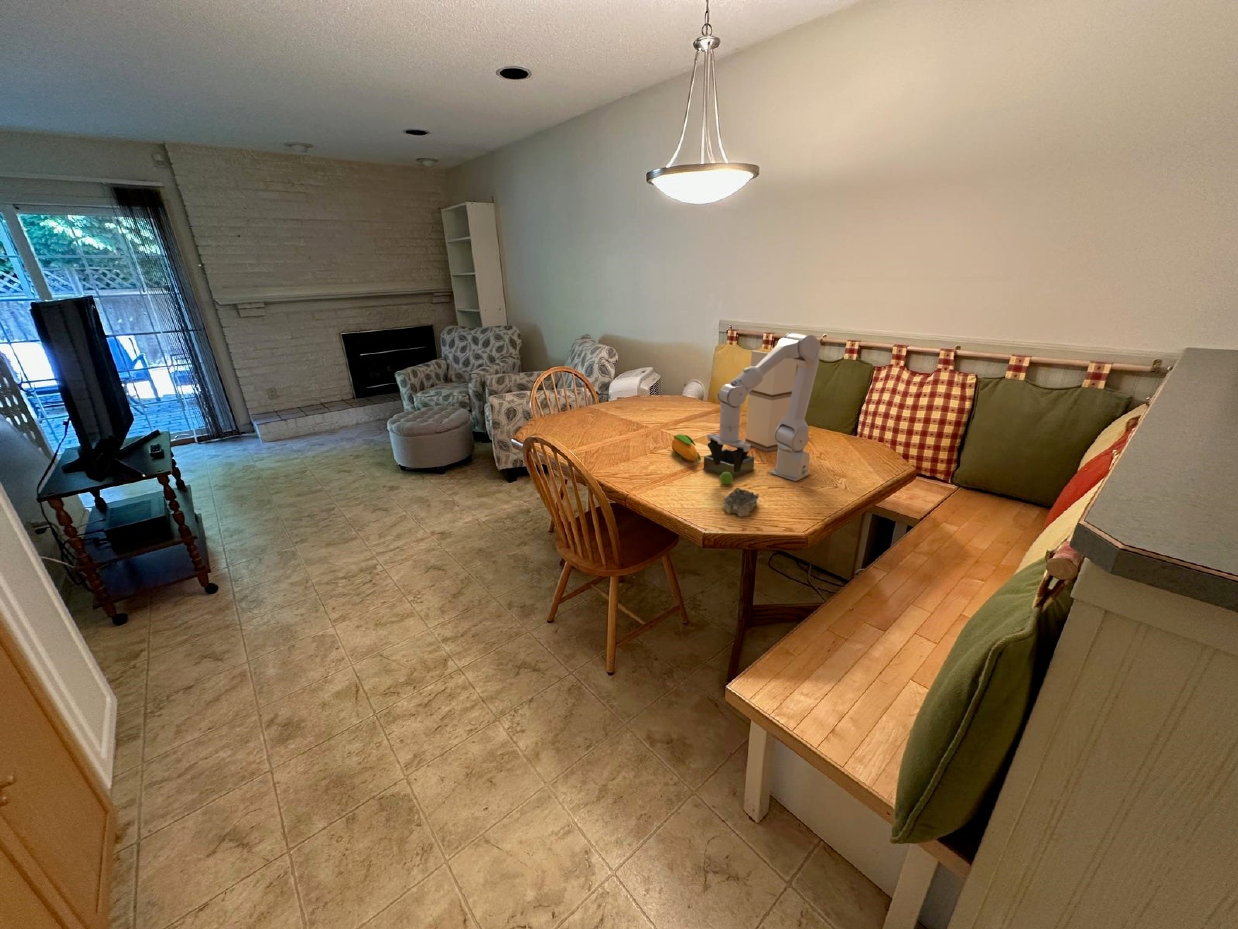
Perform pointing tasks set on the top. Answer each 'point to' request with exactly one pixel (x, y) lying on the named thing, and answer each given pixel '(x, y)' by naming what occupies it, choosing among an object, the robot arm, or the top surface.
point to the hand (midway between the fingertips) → (726, 467)
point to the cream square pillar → (769, 402)
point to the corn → (685, 448)
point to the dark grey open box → (728, 464)
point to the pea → (726, 478)
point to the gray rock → (740, 502)
